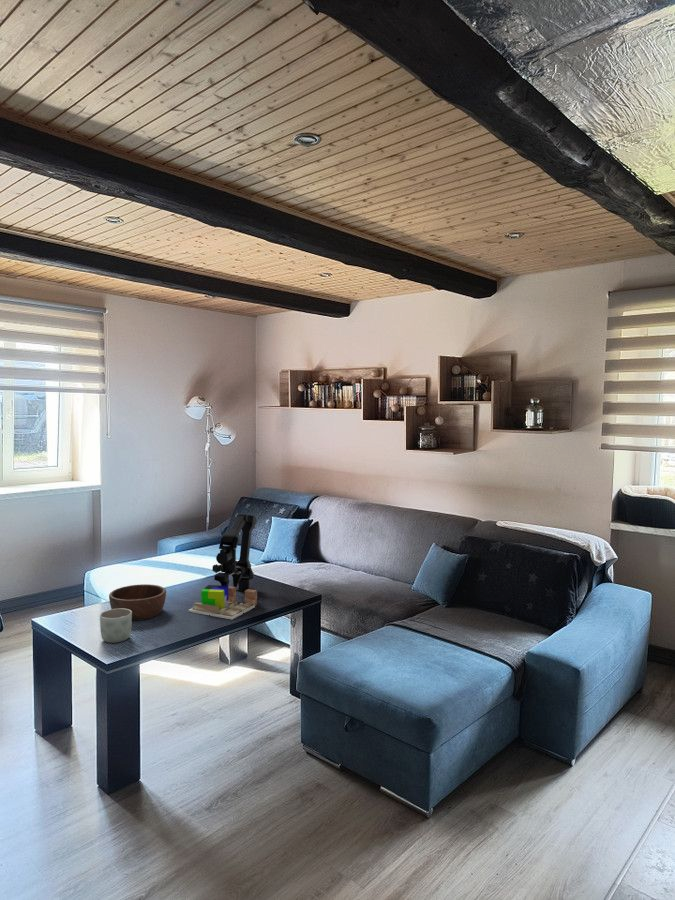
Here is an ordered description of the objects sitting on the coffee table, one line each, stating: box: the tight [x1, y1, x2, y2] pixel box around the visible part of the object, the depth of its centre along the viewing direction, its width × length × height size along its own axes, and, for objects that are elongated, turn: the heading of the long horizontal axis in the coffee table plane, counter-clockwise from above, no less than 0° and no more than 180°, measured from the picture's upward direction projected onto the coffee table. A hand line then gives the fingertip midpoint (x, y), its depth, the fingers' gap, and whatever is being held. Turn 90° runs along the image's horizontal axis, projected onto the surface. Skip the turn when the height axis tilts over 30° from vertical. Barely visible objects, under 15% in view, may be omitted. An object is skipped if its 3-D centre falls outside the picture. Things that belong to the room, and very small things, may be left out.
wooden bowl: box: [108, 583, 167, 621], centre depth 280 cm, size 25×25×10 cm
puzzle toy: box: [200, 584, 229, 610], centre depth 287 cm, size 10×10×10 cm
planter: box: [99, 608, 133, 644], centre depth 248 cm, size 12×12×11 cm
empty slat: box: [223, 589, 258, 617], centre depth 285 cm, size 21×5×7 cm, turn 156°
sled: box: [192, 585, 239, 614], centre depth 290 cm, size 21×15×7 cm
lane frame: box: [188, 602, 256, 620], centre depth 287 cm, size 19×24×1 cm
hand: (230, 590), depth 298 cm, fingers open, 8 cm apart
